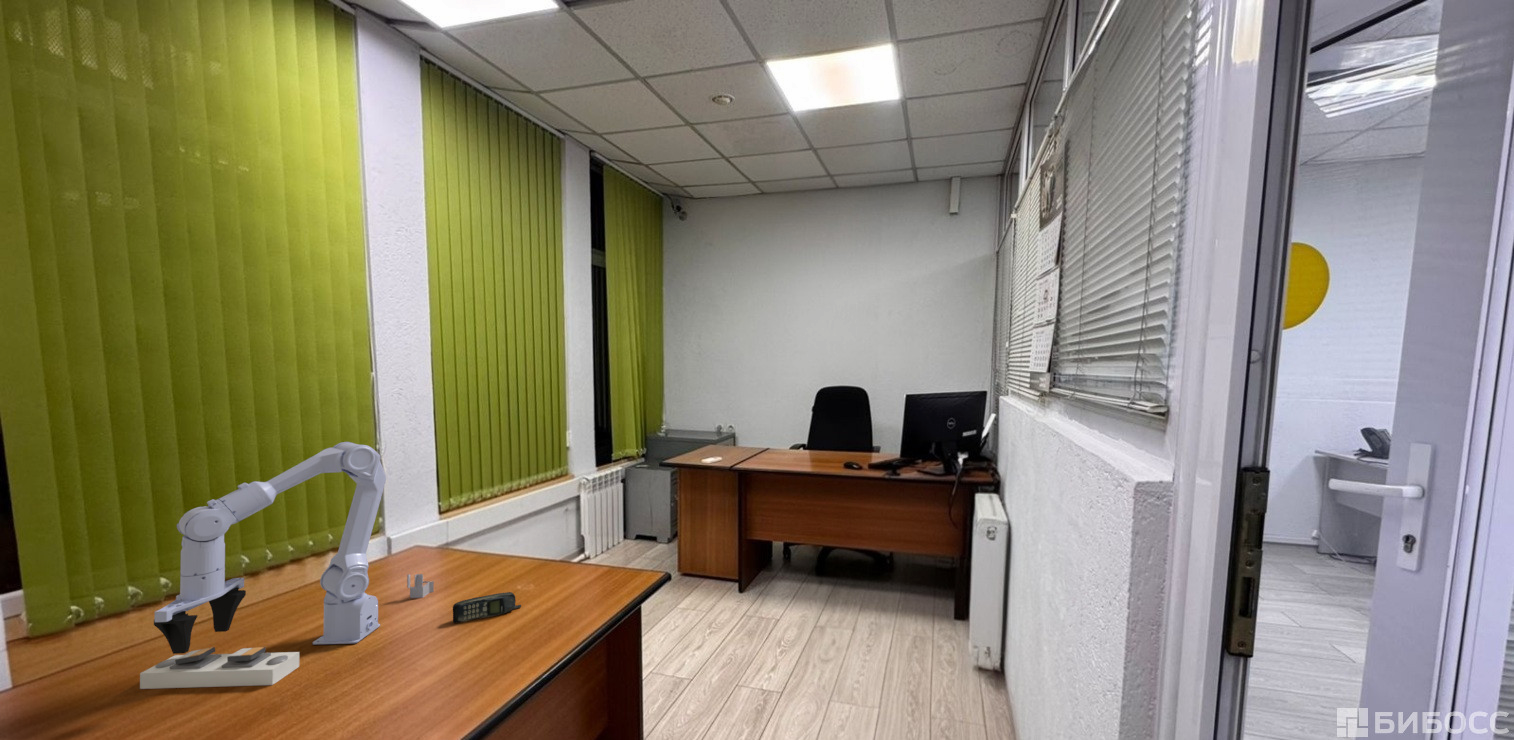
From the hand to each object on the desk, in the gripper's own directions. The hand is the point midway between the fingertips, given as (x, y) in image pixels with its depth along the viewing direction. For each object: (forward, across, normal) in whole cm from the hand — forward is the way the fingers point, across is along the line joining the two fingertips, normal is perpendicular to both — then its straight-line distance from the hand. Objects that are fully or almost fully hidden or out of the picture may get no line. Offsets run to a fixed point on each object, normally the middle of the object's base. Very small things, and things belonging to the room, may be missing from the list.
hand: (202, 641), depth 95 cm
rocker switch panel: (+9, -3, +1) cm, 9 cm away
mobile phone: (+9, -26, +42) cm, 50 cm away
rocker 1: (+5, -3, -4) cm, 7 cm away
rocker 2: (+5, -3, +5) cm, 8 cm away
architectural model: (+9, -41, +14) cm, 44 cm away
